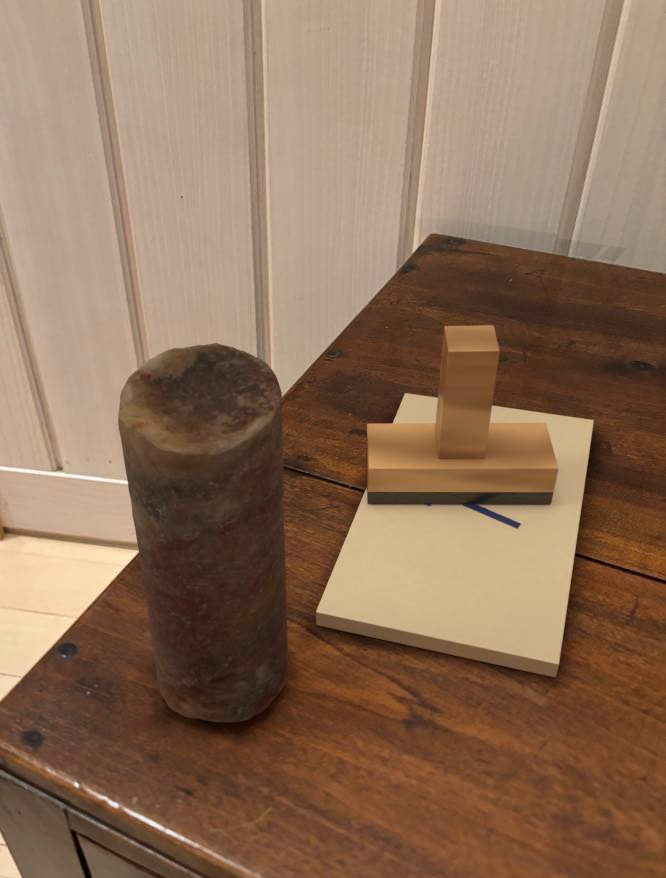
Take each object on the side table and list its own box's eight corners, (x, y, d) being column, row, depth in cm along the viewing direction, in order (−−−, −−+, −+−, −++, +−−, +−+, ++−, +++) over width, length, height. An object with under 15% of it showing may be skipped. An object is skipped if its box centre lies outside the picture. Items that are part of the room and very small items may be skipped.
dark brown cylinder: (307, 647, 54) (299, 350, 41) (273, 749, 49) (251, 448, 36) (185, 624, 56) (139, 332, 43) (140, 720, 51) (71, 423, 37)
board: (404, 405, 72) (405, 391, 71) (590, 433, 68) (594, 418, 67) (315, 625, 55) (315, 610, 55) (555, 678, 52) (559, 663, 51)
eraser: (366, 458, 65) (370, 318, 58) (539, 457, 64) (566, 315, 57) (367, 503, 61) (372, 361, 54) (551, 504, 60) (581, 358, 53)
